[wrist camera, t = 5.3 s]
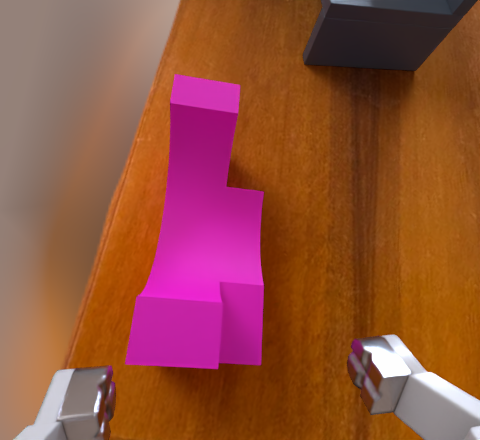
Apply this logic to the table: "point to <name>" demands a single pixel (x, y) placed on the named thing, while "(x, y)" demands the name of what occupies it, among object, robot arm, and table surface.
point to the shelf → (381, 32)
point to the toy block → (202, 245)
